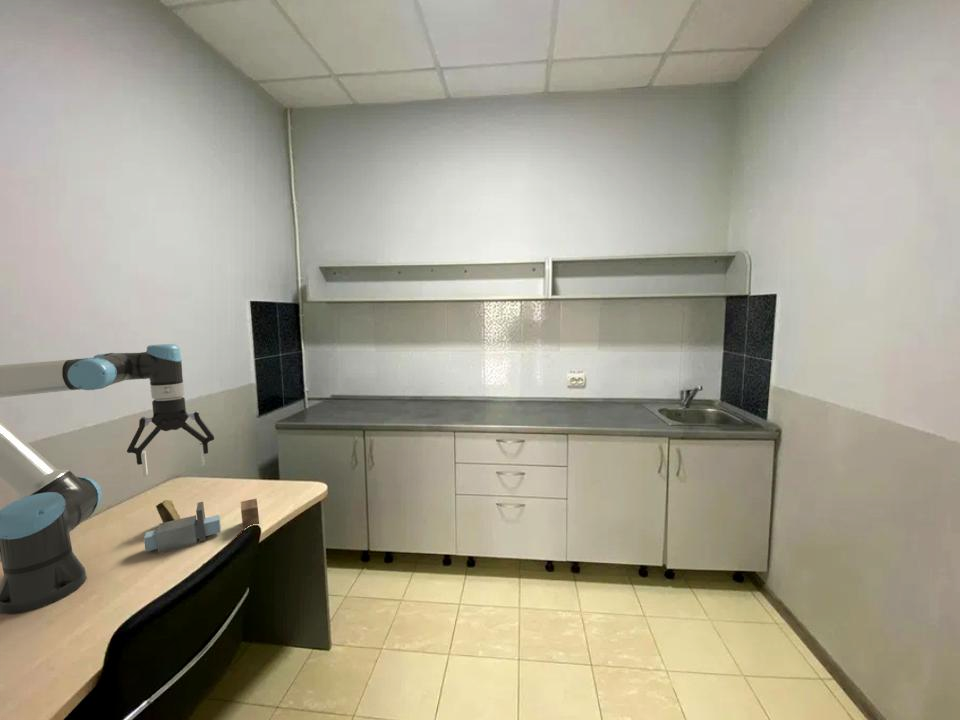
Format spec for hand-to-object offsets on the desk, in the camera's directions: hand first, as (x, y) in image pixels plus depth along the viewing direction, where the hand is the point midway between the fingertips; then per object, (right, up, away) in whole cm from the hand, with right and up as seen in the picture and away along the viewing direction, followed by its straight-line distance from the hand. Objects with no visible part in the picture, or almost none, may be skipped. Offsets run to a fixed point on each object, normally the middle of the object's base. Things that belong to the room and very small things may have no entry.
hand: (175, 469), depth 121 cm
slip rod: (+1, -22, +2) cm, 22 cm away
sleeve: (0, -22, +2) cm, 22 cm away
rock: (-9, -22, +12) cm, 27 cm away
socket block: (+16, -21, +11) cm, 28 cm away
